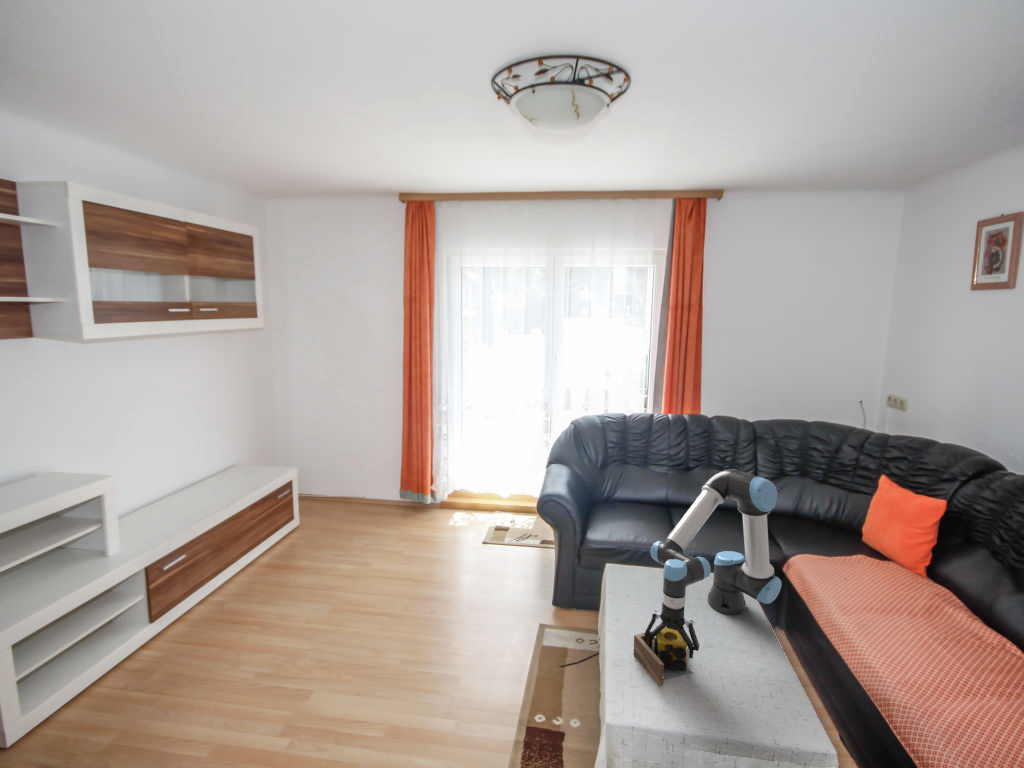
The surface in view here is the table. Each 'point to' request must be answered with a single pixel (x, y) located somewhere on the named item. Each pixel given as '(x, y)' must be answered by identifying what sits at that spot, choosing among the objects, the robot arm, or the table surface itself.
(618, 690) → the table surface
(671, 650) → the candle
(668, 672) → the mat
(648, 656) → the corner walls
